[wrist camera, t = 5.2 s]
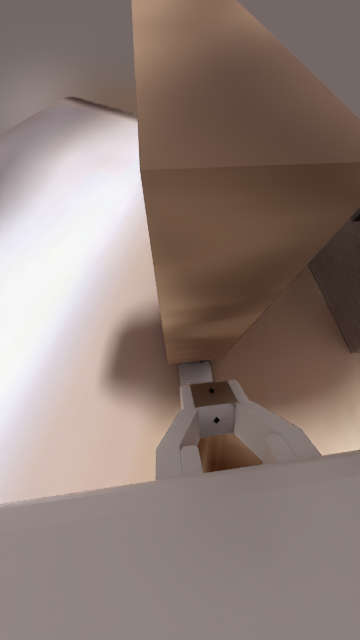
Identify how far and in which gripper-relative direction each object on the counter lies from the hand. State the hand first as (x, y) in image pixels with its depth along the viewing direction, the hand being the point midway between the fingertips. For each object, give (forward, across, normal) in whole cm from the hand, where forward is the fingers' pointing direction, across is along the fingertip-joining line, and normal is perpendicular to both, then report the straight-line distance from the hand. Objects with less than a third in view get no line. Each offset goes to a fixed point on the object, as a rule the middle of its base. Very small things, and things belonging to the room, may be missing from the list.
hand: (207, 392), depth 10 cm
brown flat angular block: (+9, 0, -3) cm, 10 cm away
